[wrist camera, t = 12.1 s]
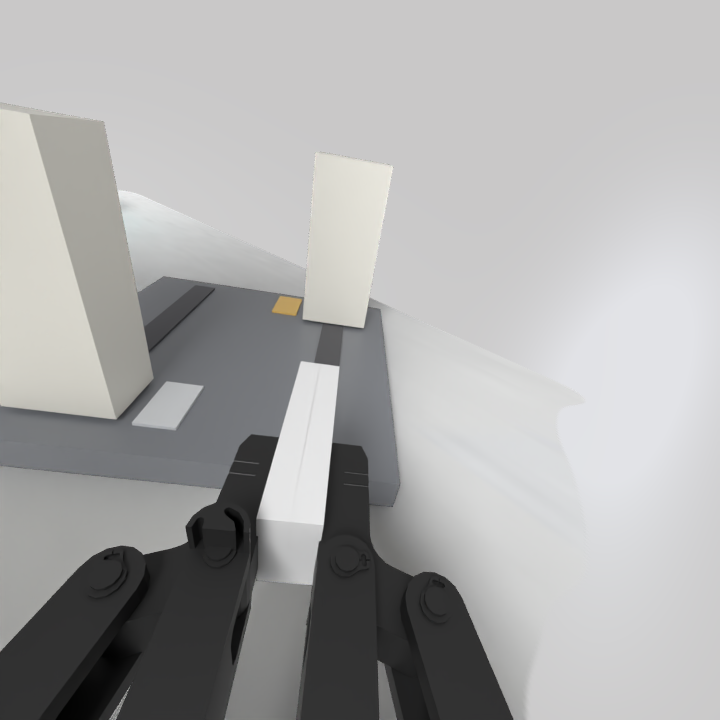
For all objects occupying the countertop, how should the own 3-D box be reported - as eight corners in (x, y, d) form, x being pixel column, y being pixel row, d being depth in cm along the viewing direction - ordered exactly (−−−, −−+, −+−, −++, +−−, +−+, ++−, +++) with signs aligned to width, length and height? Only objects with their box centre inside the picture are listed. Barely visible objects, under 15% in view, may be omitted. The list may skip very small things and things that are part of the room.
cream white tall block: (363, 328, 34) (393, 166, 26) (302, 319, 33) (315, 152, 26) (363, 311, 37) (389, 164, 30) (308, 303, 36) (320, 151, 29)
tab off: (116, 419, 19) (28, 114, 12) (0, 406, 19) (-166, 78, 11) (153, 378, 22) (103, 121, 15) (56, 366, 22) (-43, 94, 15)
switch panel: (392, 506, 20) (400, 481, 19) (-58, 459, 18) (-79, 428, 17) (377, 324, 40) (380, 307, 39) (166, 293, 38) (163, 274, 37)
